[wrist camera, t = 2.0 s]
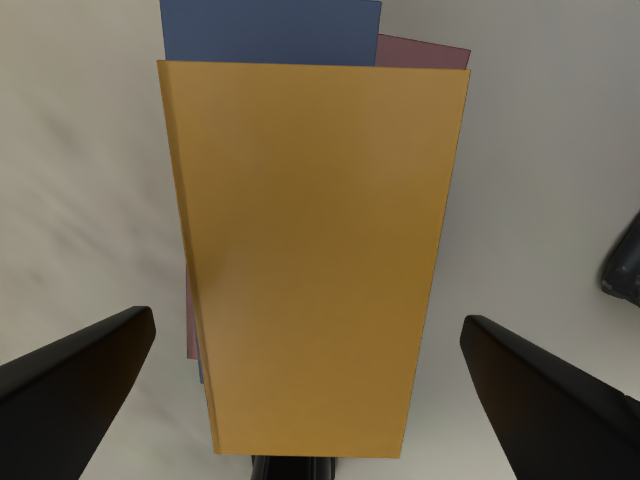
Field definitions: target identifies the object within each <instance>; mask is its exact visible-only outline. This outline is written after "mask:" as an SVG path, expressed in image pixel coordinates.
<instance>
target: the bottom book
mask: <svg viewBox="0 0 640 480" xmlns="http://www.w3.org/2000/svg"><path fill="white" fill-rule="evenodd" d="M470 53H471V50H468V49H462V48H456V47H451V46H445V45H440V44H434V43H428V42H423V41H417V40H411V39H406V38H400V37H394V36H389V35H383V34H378V40H377V49H376V58H375V67H401V68H434V69H466V67H467V63H468V60H469V56H470ZM186 306H187V358H188V359H196V360H198V354H197V345H196V336H195V326H194V317H193V308H192V298H191V291H190V284H189V277H188V270H187V263H186Z"/></svg>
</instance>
